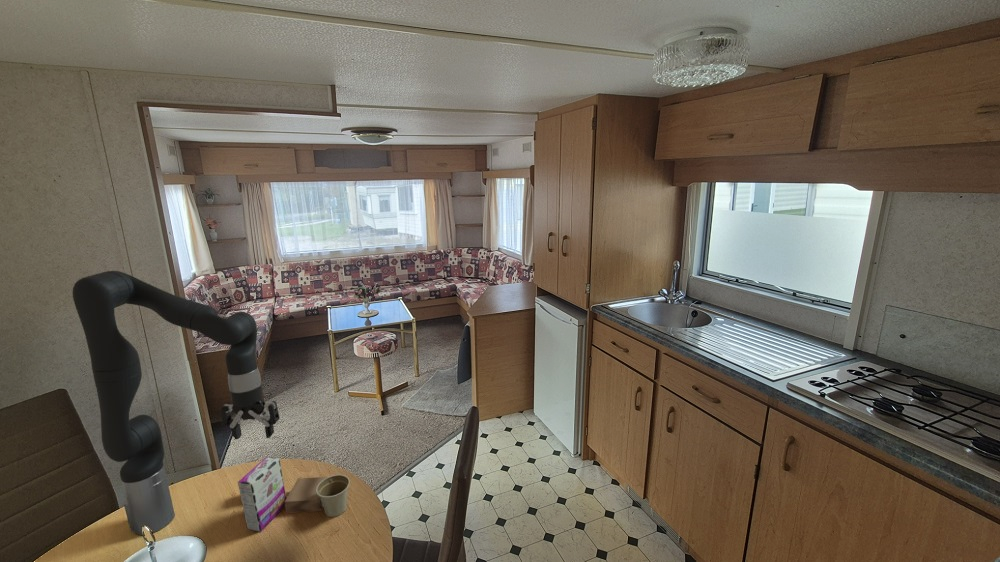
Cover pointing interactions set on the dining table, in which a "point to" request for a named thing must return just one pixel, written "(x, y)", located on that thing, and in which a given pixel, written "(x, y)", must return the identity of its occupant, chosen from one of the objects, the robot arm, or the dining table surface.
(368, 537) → the dining table surface
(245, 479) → the candy bar box
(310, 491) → the brown square block
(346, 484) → the flower pot
